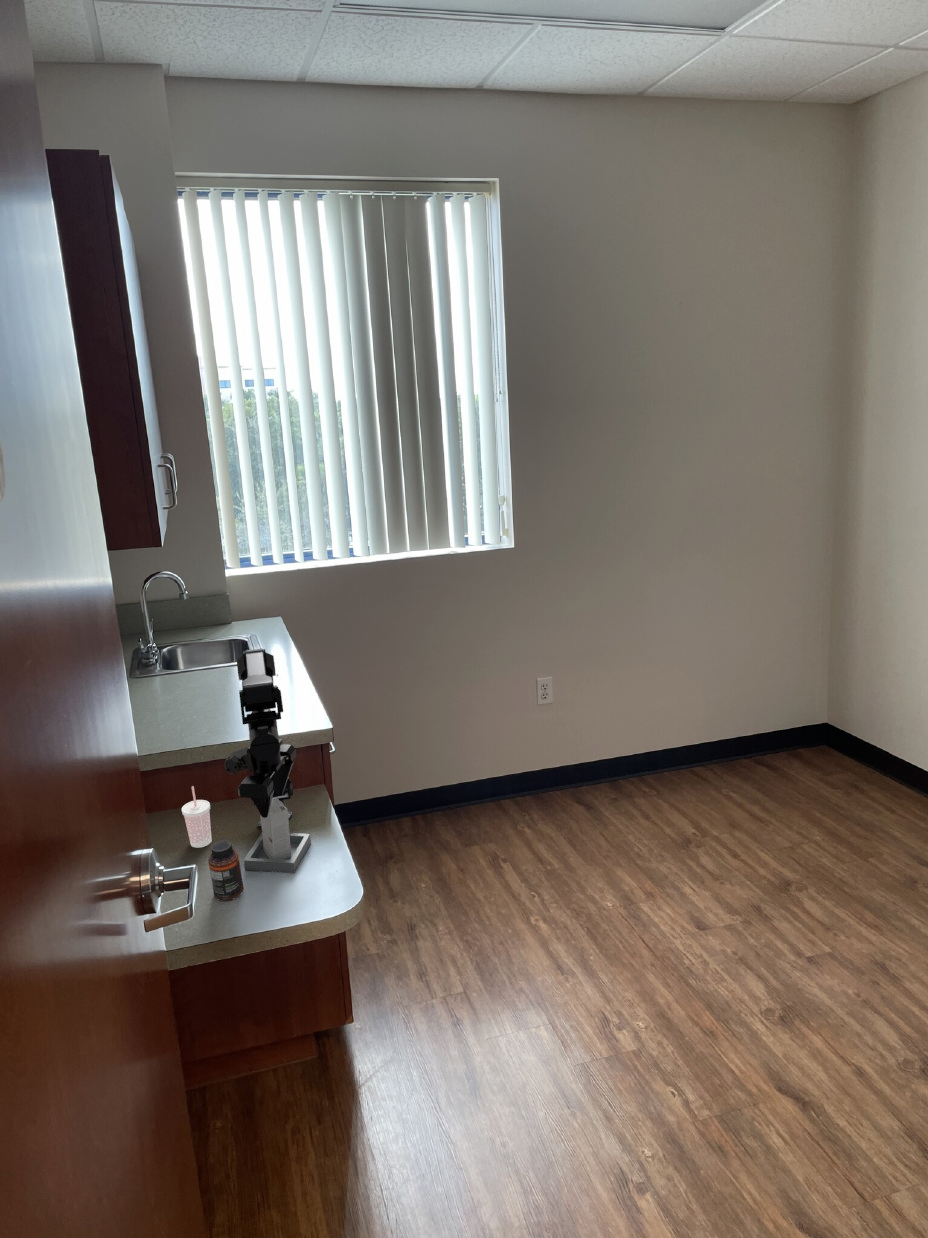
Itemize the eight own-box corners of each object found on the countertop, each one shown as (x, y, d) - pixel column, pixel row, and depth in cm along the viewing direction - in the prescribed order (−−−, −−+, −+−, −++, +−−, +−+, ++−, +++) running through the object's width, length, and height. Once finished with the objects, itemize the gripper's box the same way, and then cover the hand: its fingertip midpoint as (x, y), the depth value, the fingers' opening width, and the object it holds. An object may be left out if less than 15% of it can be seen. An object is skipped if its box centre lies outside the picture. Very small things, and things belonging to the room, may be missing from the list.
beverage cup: (210, 831, 196) (202, 777, 191) (218, 843, 191) (210, 788, 186) (183, 840, 192) (174, 785, 188) (191, 852, 188) (182, 796, 183)
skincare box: (262, 851, 186) (256, 802, 182) (282, 844, 188) (276, 796, 184) (274, 864, 181) (267, 814, 177) (293, 857, 183) (287, 807, 180)
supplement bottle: (232, 880, 177) (225, 833, 174) (249, 891, 174) (243, 843, 170) (207, 895, 173) (200, 847, 169) (225, 906, 169) (218, 857, 166)
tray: (263, 841, 191) (262, 831, 190) (311, 843, 189) (310, 834, 188) (245, 870, 180) (243, 860, 180) (295, 873, 179) (293, 863, 178)
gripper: (244, 719, 186) (252, 783, 191) (208, 759, 168) (218, 828, 173) (293, 720, 184) (300, 784, 189) (262, 760, 167) (271, 830, 171)
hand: (272, 805), depth 181 cm, fingers open, 9 cm apart
